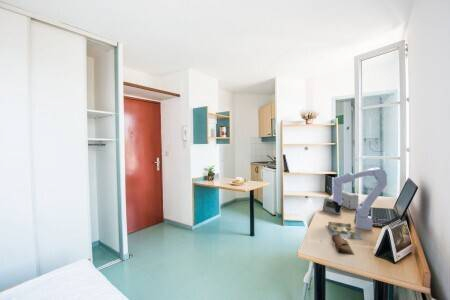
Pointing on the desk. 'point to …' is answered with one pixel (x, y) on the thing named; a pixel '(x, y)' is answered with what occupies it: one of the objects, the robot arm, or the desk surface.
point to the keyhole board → (348, 235)
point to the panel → (340, 226)
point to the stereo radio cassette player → (349, 199)
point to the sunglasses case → (342, 245)
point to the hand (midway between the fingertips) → (337, 212)
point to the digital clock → (330, 206)
